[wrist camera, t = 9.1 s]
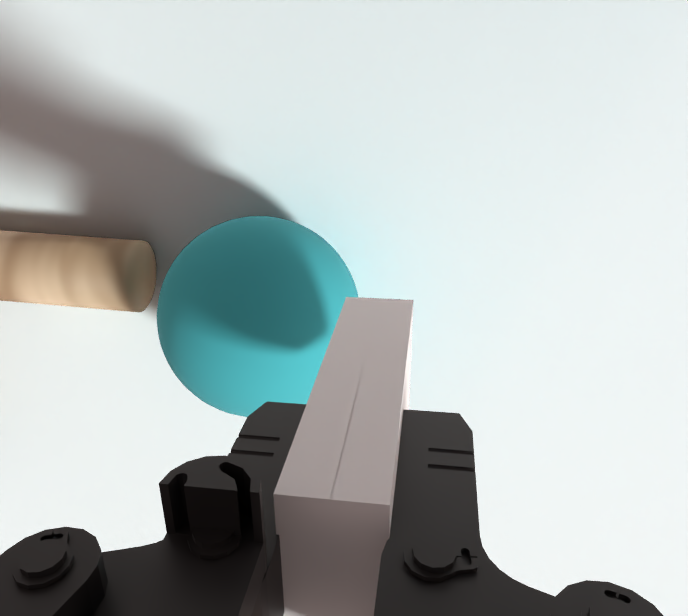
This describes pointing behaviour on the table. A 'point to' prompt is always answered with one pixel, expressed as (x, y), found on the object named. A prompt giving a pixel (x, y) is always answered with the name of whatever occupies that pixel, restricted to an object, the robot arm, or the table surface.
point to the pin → (76, 271)
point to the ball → (251, 312)
